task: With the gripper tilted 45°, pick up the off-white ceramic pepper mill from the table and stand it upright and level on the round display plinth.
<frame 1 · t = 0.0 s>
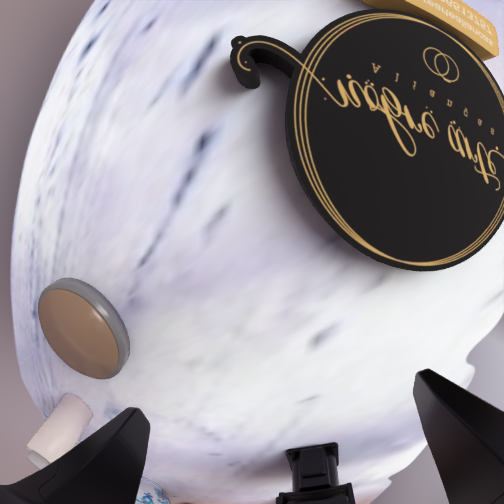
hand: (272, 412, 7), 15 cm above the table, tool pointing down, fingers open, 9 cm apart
chinaware: (146, 483, 37), on the table
decorative sign: (417, 107, 17), on the table
display plinth: (83, 328, 25), on the table
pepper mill: (78, 406, 30), on the table
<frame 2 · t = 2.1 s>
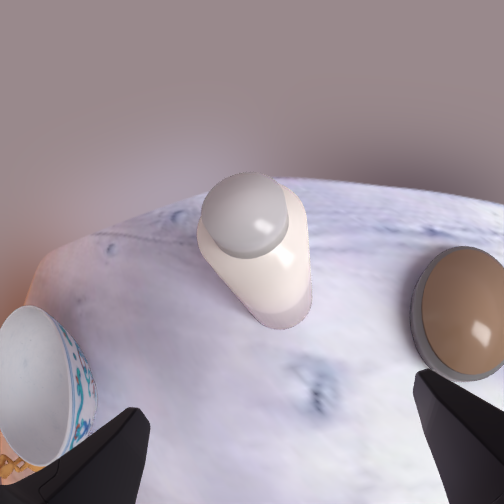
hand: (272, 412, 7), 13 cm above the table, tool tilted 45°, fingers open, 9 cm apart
chinaware: (77, 394, 23), on the table
display plinth: (467, 314, 18), on the table
figurine: (49, 463, 19), on the table
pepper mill: (280, 298, 23), on the table
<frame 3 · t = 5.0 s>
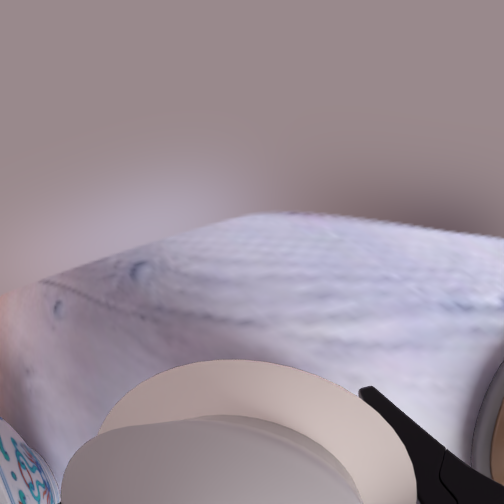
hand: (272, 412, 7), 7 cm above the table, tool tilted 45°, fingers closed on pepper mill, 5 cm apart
chinaware: (39, 480, 12), on the table
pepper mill: (293, 425, 12), on the table, touching gripper
when the fingers open (9 cm above the table, at t = 10.7 s): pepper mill stays where it is, resting on display plinth.
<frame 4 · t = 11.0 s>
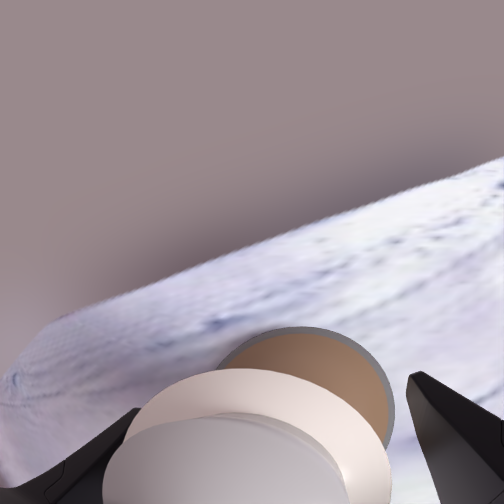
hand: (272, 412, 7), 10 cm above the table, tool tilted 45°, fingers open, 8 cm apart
display plinth: (297, 419, 15), on the table
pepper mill: (294, 424, 13), point 2 cm above the table, touching display plinth
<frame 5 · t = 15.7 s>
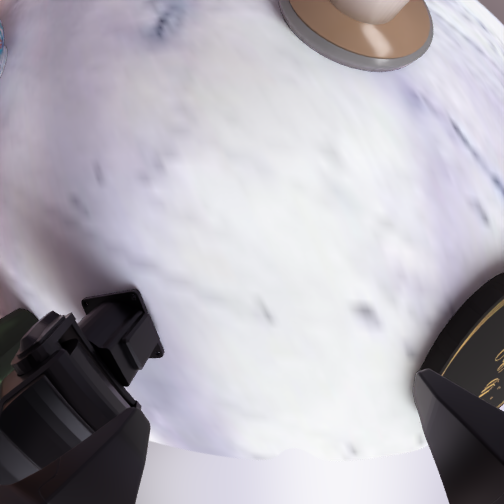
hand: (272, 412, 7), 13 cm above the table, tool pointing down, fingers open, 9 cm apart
decorative sign: (495, 353, 22), on the table
display plinth: (356, 7, 13), on the table
potion bottle: (33, 331, 25), on the table
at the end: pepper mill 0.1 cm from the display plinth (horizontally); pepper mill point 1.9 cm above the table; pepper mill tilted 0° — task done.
